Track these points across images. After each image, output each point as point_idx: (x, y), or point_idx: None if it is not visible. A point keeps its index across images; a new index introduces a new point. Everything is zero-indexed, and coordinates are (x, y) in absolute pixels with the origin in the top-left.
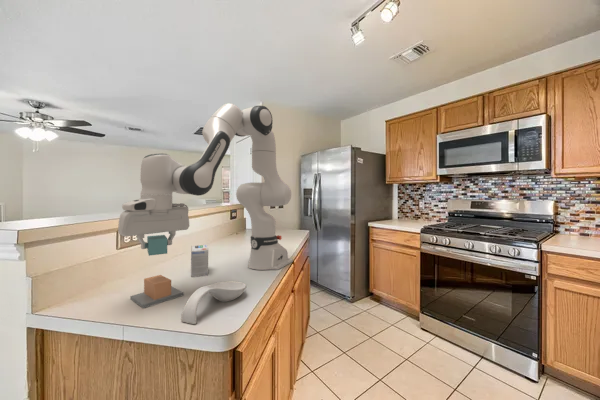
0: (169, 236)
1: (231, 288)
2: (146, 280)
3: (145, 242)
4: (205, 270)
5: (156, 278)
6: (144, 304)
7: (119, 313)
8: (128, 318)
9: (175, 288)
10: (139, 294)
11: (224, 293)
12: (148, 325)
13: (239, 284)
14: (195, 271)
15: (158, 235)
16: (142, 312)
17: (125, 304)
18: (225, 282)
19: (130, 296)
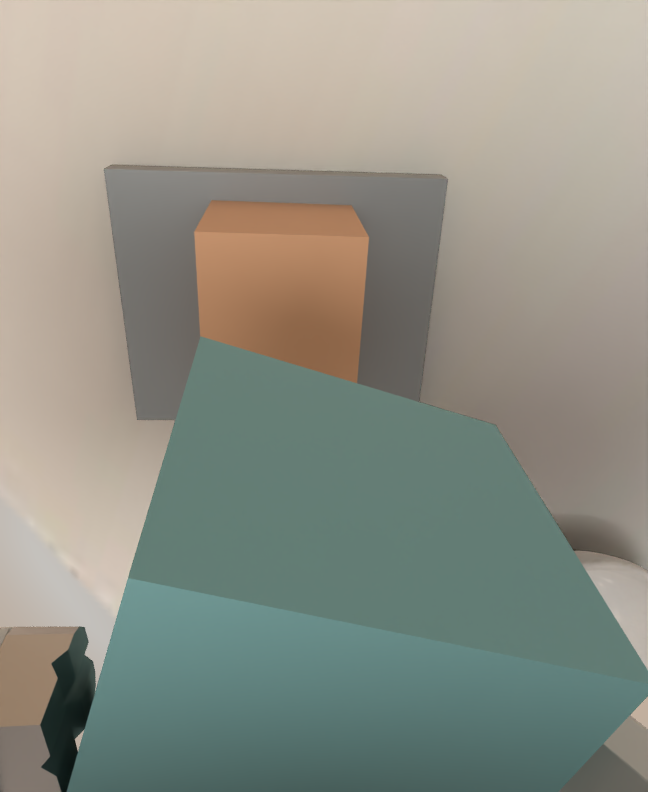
0: (627, 780)
1: (607, 588)
2: (198, 296)
3: (21, 745)
4: None
5: (285, 328)
6: (145, 419)
7: (7, 369)
8: (44, 470)
9: (427, 308)
10: (172, 197)
11: None
12: (109, 594)
13: (646, 629)
14: None
15: (465, 687)
16: (123, 455)
17: (60, 246)
18: (627, 575)
19: (104, 171)
